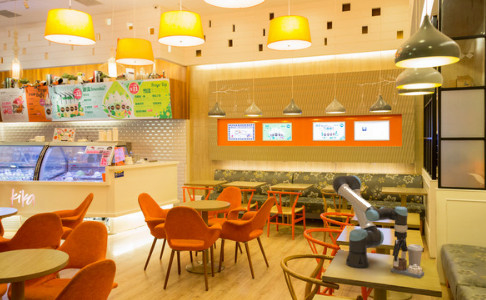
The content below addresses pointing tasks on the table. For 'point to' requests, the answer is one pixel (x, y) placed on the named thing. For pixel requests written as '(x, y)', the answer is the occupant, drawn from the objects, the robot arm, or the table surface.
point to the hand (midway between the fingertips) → (399, 263)
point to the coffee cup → (414, 254)
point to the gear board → (410, 271)
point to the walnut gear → (401, 264)
